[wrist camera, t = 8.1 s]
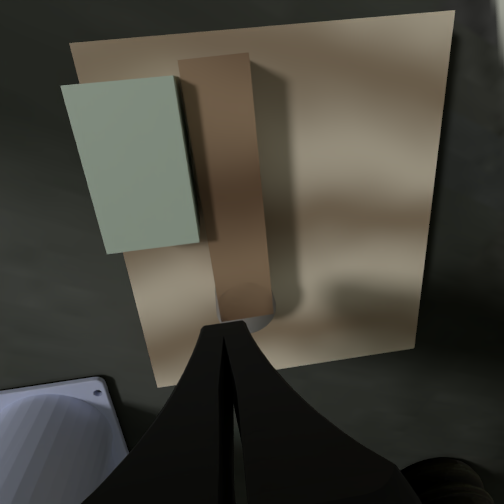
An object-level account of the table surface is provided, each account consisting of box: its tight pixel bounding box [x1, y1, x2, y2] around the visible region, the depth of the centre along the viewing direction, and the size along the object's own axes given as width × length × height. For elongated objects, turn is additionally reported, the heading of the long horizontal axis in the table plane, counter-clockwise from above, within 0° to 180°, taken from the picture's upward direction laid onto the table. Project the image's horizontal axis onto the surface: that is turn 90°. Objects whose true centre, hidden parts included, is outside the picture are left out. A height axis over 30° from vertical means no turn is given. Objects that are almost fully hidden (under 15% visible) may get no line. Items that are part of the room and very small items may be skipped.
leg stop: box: [61, 75, 200, 254], centre depth 15 cm, size 6×4×3 cm, turn 5°
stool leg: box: [177, 52, 276, 333], centre depth 16 cm, size 12×3×2 cm, turn 6°
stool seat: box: [69, 10, 455, 388], centre depth 19 cm, size 18×16×2 cm
